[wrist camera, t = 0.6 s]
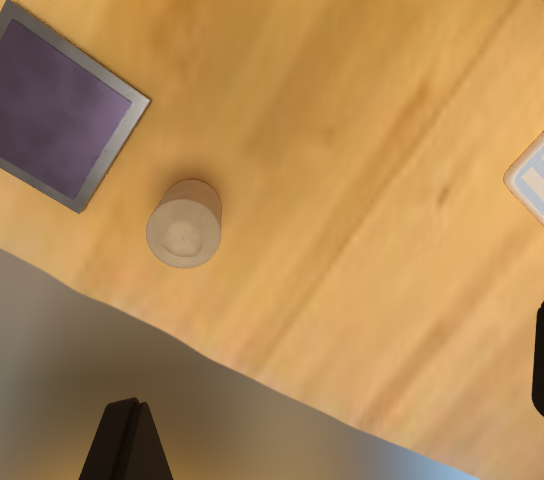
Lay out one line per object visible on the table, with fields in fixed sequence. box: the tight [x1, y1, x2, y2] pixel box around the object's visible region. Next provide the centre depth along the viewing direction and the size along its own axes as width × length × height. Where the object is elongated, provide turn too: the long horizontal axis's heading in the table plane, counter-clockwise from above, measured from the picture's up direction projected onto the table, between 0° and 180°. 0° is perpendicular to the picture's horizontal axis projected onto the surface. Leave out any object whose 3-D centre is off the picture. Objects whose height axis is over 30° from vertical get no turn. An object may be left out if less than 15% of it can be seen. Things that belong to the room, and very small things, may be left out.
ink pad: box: [0, 0, 152, 214], centre depth 32 cm, size 12×12×2 cm
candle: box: [146, 179, 222, 269], centre depth 32 cm, size 6×6×10 cm
